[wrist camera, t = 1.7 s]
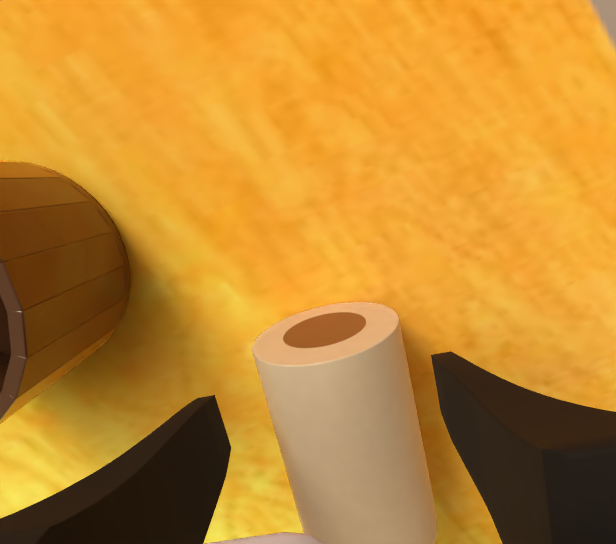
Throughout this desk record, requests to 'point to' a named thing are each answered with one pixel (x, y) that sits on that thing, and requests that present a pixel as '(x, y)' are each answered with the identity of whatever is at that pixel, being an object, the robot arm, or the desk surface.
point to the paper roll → (348, 424)
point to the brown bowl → (53, 280)
